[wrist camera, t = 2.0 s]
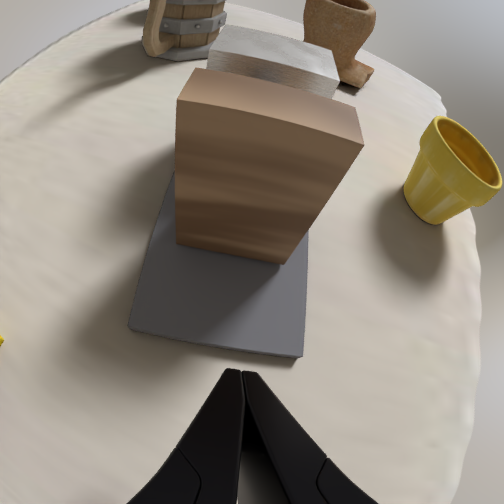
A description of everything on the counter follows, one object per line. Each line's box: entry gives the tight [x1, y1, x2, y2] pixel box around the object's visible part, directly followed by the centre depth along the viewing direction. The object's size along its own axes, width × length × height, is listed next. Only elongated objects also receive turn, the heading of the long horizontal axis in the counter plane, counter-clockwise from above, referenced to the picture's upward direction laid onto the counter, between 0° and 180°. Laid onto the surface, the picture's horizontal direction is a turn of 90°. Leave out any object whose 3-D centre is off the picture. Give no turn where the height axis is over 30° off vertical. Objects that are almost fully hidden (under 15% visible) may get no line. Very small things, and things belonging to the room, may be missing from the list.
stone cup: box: [303, 0, 376, 88], centre depth 36 cm, size 15×12×15 cm
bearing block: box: [206, 25, 340, 99], centre depth 23 cm, size 6×9×11 cm, turn 83°
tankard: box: [142, 0, 227, 61], centre depth 30 cm, size 20×13×15 cm, turn 161°
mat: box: [128, 170, 308, 358], centre depth 25 cm, size 25×12×1 cm, turn 173°
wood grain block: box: [175, 68, 364, 265], centre depth 20 cm, size 13×8×12 cm, turn 173°
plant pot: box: [404, 116, 502, 225], centre depth 28 cm, size 10×10×10 cm
